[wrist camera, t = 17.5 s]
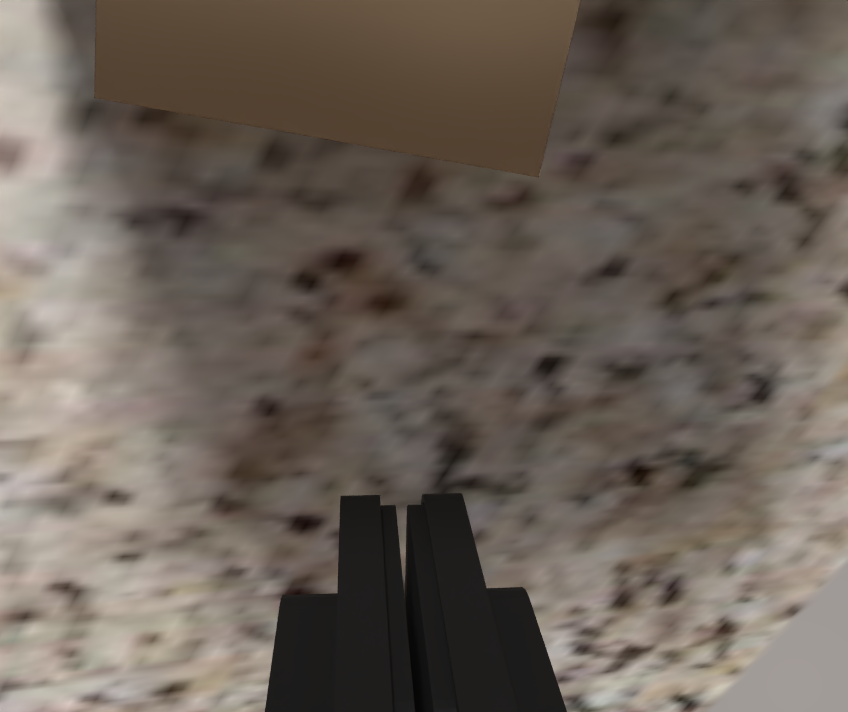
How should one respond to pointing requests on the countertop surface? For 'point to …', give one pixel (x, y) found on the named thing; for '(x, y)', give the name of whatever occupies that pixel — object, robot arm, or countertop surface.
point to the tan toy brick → (350, 70)
